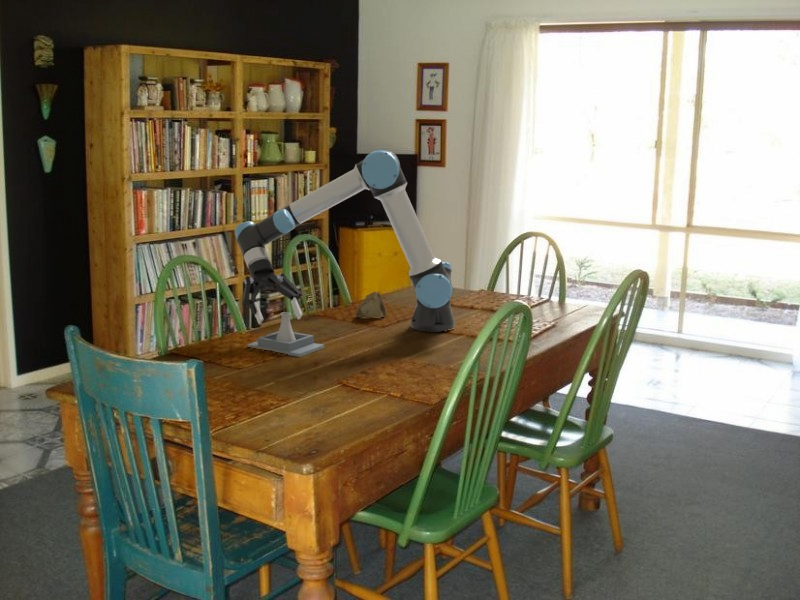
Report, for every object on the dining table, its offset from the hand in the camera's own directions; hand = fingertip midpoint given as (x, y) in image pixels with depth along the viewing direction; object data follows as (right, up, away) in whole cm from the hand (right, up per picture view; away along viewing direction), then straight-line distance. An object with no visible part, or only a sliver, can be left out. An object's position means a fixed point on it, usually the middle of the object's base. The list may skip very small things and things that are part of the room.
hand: (280, 319), depth 287 cm
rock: (+27, 0, +44) cm, 51 cm away
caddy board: (+2, -9, 0) cm, 9 cm away
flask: (+2, -8, 0) cm, 8 cm away
